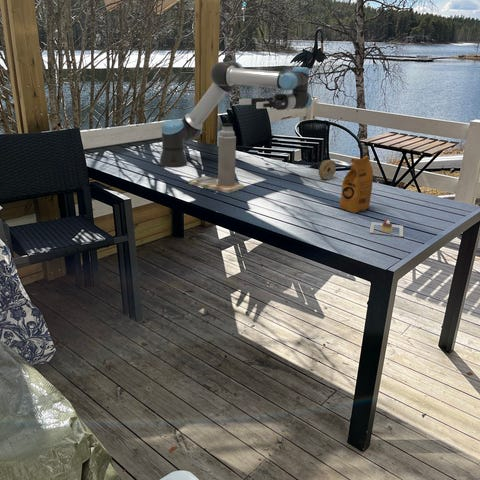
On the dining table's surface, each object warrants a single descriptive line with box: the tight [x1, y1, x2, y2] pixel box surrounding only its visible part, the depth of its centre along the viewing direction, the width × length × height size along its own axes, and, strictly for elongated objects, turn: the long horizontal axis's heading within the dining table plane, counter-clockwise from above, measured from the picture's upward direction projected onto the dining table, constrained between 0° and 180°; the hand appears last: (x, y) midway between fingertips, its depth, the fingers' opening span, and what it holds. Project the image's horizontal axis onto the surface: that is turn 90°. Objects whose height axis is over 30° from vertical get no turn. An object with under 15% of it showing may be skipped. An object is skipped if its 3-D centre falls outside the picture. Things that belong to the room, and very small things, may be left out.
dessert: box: [369, 220, 404, 238], centre depth 186 cm, size 12×12×5 cm
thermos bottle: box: [217, 122, 237, 186], centre depth 228 cm, size 8×8×28 cm
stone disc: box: [318, 159, 337, 180], centre depth 252 cm, size 10×4×10 cm, turn 128°
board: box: [188, 175, 245, 194], centre depth 236 cm, size 24×12×2 cm, turn 54°
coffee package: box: [339, 155, 374, 214], centre depth 206 cm, size 10×12×22 cm
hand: (247, 103), depth 227 cm, fingers open, 13 cm apart
